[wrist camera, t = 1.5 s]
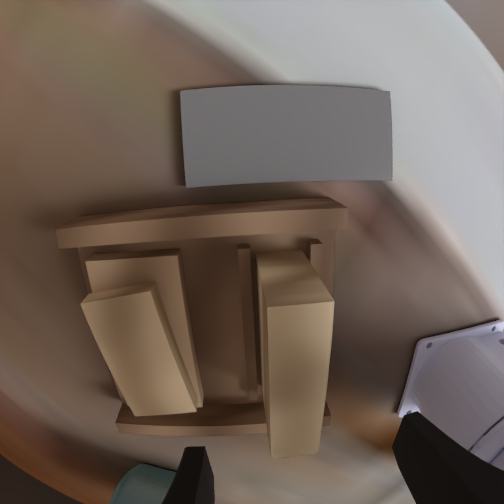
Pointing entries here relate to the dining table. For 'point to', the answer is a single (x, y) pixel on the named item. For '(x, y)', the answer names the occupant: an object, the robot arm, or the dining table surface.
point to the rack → (216, 292)
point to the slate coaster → (285, 134)
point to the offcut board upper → (141, 349)
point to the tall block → (293, 350)
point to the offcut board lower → (170, 288)
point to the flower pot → (143, 485)
